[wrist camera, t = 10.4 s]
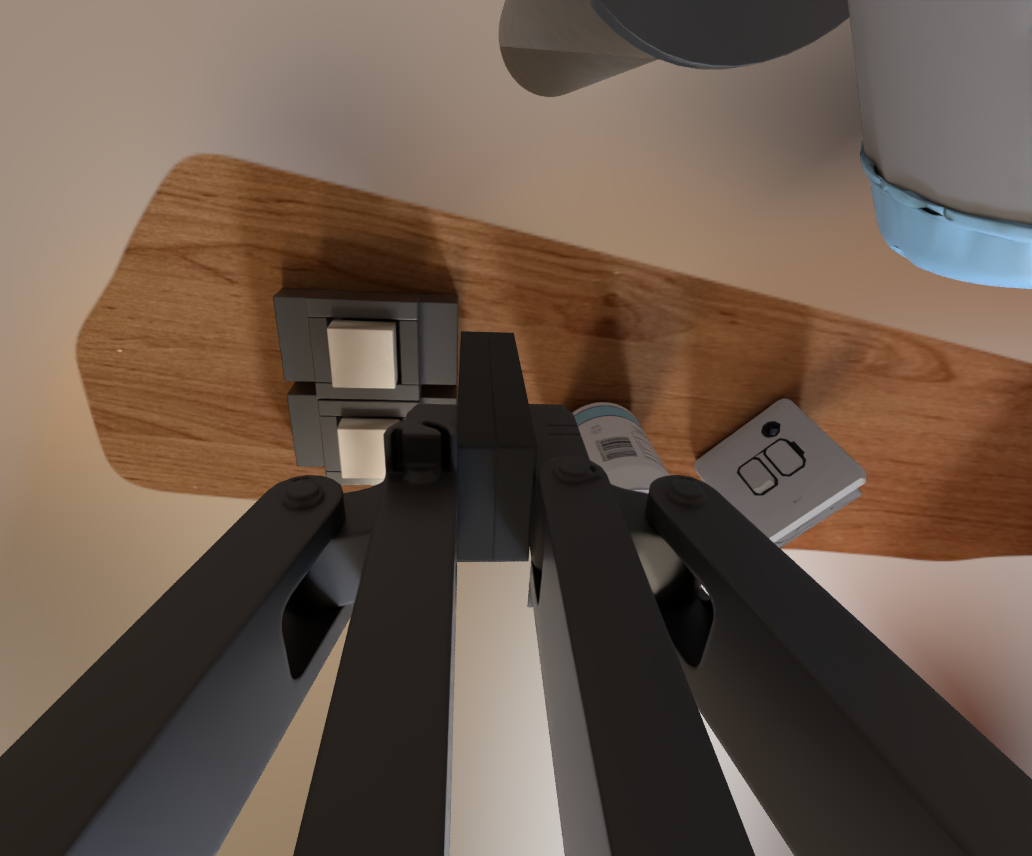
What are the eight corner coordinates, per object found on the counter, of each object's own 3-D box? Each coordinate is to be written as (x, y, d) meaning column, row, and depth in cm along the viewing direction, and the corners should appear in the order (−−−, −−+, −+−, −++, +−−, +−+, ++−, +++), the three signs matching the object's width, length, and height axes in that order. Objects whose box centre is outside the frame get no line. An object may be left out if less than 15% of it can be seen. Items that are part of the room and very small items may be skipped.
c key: (395, 321, 36) (392, 330, 35) (398, 378, 38) (395, 388, 37) (332, 319, 36) (326, 327, 35) (337, 377, 38) (332, 387, 36)
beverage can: (540, 457, 46) (561, 553, 36) (575, 384, 44) (610, 466, 33) (614, 480, 48) (655, 579, 37) (652, 412, 45) (709, 498, 35)
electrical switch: (784, 392, 45) (859, 458, 37) (810, 429, 48) (886, 499, 40) (688, 462, 48) (740, 537, 40) (718, 494, 50) (772, 571, 42)
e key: (399, 417, 40) (396, 429, 38) (401, 466, 42) (399, 479, 40) (341, 417, 39) (336, 428, 38) (346, 465, 41) (341, 478, 40)
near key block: (458, 288, 39) (457, 303, 36) (457, 379, 43) (456, 401, 39) (281, 281, 38) (262, 296, 35) (293, 375, 41) (277, 398, 38)
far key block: (457, 380, 43) (456, 403, 39) (456, 458, 46) (455, 486, 42) (294, 376, 41) (277, 399, 38) (304, 457, 45) (290, 484, 41)
